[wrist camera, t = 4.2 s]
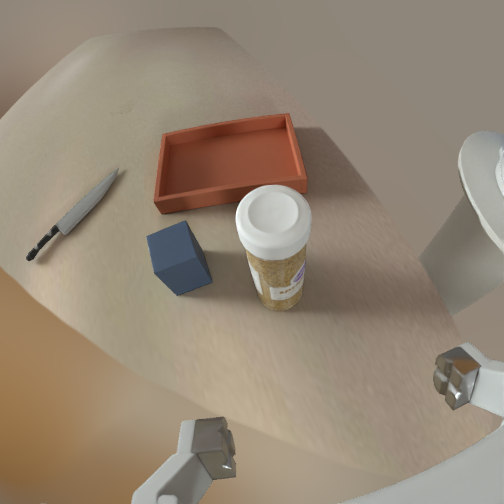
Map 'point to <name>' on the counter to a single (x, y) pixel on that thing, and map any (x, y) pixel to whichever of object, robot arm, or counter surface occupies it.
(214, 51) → the counter surface
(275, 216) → the sprinkles bottle
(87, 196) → the chef's knife
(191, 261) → the blue block
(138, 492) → the robot arm
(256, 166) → the tray
